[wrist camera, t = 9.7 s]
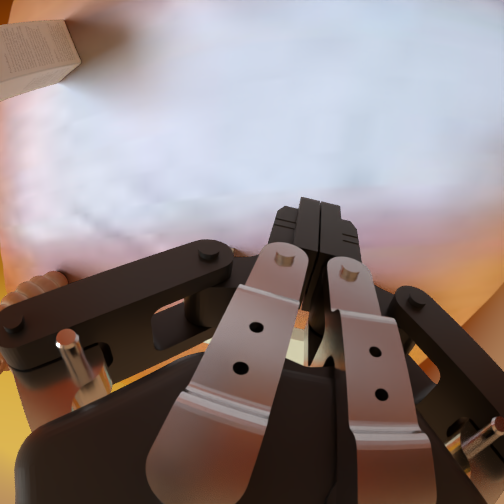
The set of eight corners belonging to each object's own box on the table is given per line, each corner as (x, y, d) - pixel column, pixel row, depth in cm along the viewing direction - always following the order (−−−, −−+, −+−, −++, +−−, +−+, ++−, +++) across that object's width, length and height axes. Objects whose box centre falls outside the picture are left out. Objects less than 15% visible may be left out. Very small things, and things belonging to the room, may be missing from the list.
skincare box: (40, 42, 23) (-51, 61, 13) (65, 18, 21) (-31, 27, 11) (57, 85, 26) (-35, 116, 16) (83, 63, 24) (-14, 86, 14)
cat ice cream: (79, 260, 38) (-6, 360, 23) (90, 304, 43) (23, 399, 28) (35, 247, 39) (-46, 330, 24) (48, 289, 43) (-19, 370, 29)
